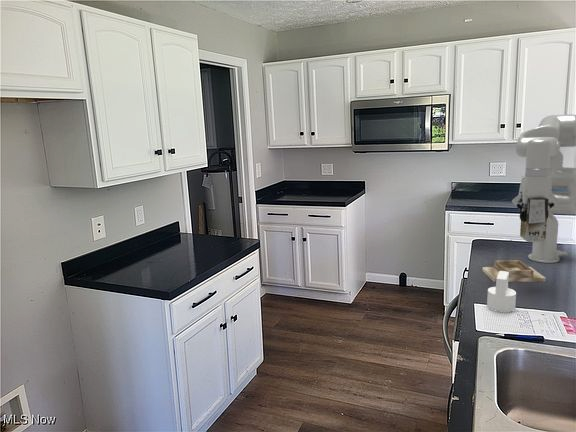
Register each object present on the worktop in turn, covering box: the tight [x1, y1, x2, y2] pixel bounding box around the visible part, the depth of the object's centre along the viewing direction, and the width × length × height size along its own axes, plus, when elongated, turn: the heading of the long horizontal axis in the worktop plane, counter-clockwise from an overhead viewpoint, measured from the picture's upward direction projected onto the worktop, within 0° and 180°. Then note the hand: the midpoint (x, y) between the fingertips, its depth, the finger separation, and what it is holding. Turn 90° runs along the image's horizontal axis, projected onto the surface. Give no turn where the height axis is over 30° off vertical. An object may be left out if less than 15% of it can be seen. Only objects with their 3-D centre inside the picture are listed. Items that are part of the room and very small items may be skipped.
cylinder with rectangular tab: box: [486, 271, 517, 313], centre depth 154 cm, size 9×9×12 cm
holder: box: [481, 259, 546, 283], centre depth 184 cm, size 20×14×4 cm
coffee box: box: [519, 198, 549, 243], centre depth 164 cm, size 9×6×16 cm
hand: (533, 220), depth 164 cm, fingers closed on coffee box, 6 cm apart
